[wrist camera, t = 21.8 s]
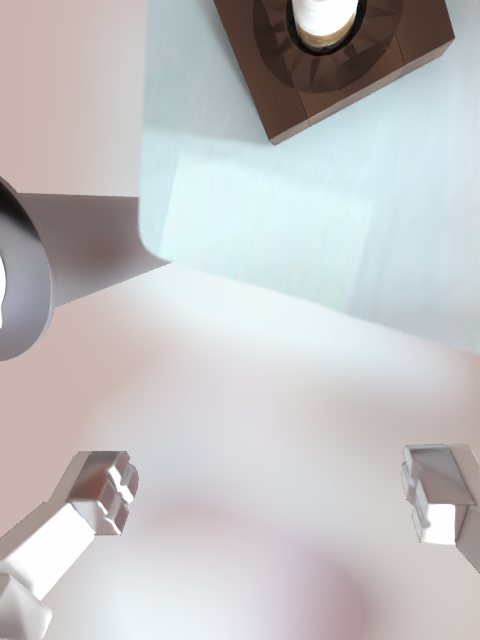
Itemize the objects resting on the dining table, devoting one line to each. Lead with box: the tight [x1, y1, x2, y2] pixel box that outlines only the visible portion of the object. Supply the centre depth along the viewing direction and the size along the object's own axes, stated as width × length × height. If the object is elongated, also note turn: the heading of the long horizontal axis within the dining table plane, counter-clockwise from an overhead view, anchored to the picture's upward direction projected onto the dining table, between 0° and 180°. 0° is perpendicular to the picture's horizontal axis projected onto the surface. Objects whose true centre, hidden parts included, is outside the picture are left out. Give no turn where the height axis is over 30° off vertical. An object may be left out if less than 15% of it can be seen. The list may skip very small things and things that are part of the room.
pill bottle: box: [292, 0, 358, 56], centre depth 24 cm, size 4×4×8 cm
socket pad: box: [213, 0, 455, 146], centre depth 27 cm, size 14×12×3 cm
